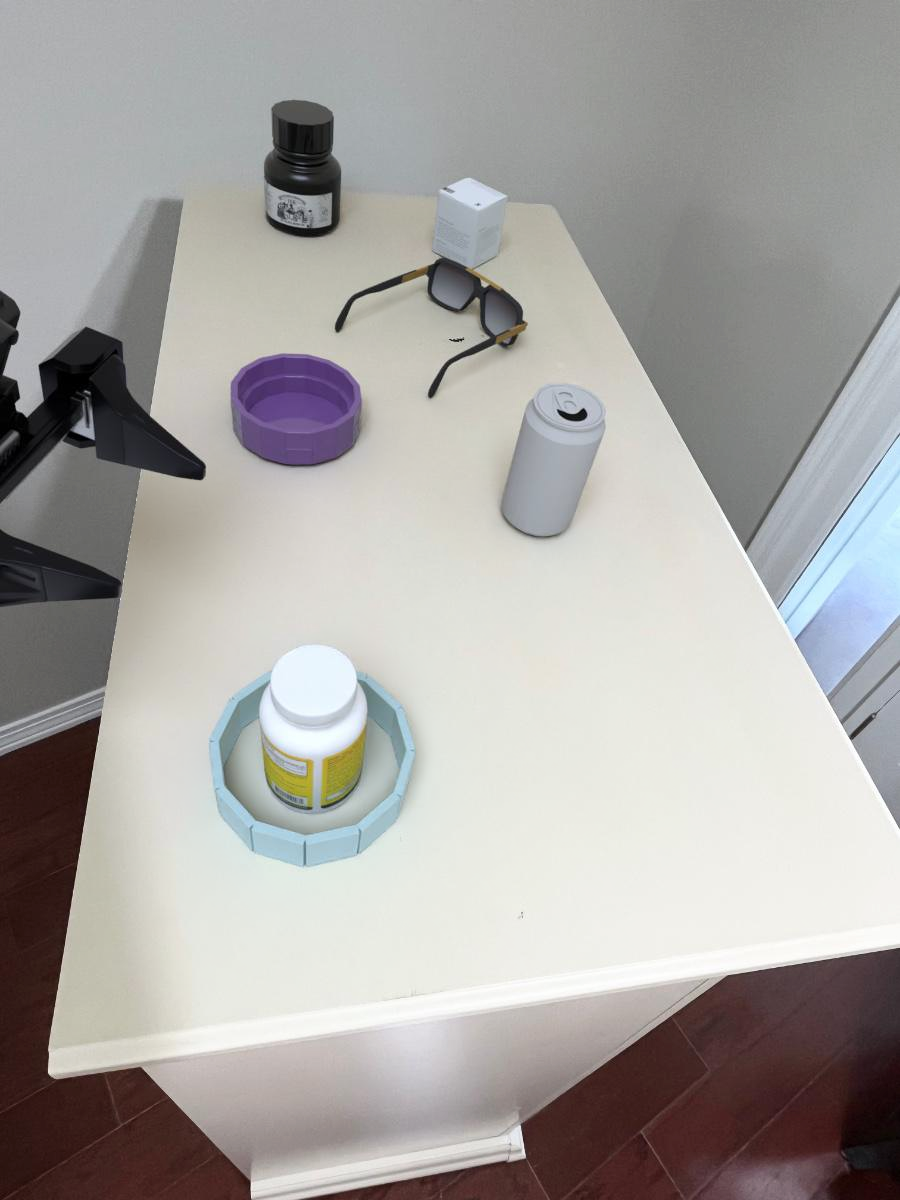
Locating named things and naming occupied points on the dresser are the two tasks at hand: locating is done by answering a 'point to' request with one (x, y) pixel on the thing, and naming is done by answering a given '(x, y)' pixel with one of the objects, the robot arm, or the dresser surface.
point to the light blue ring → (327, 842)
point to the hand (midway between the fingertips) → (165, 527)
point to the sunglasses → (460, 304)
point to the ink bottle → (302, 170)
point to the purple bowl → (296, 408)
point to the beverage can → (553, 458)
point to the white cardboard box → (469, 222)
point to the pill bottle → (313, 729)
